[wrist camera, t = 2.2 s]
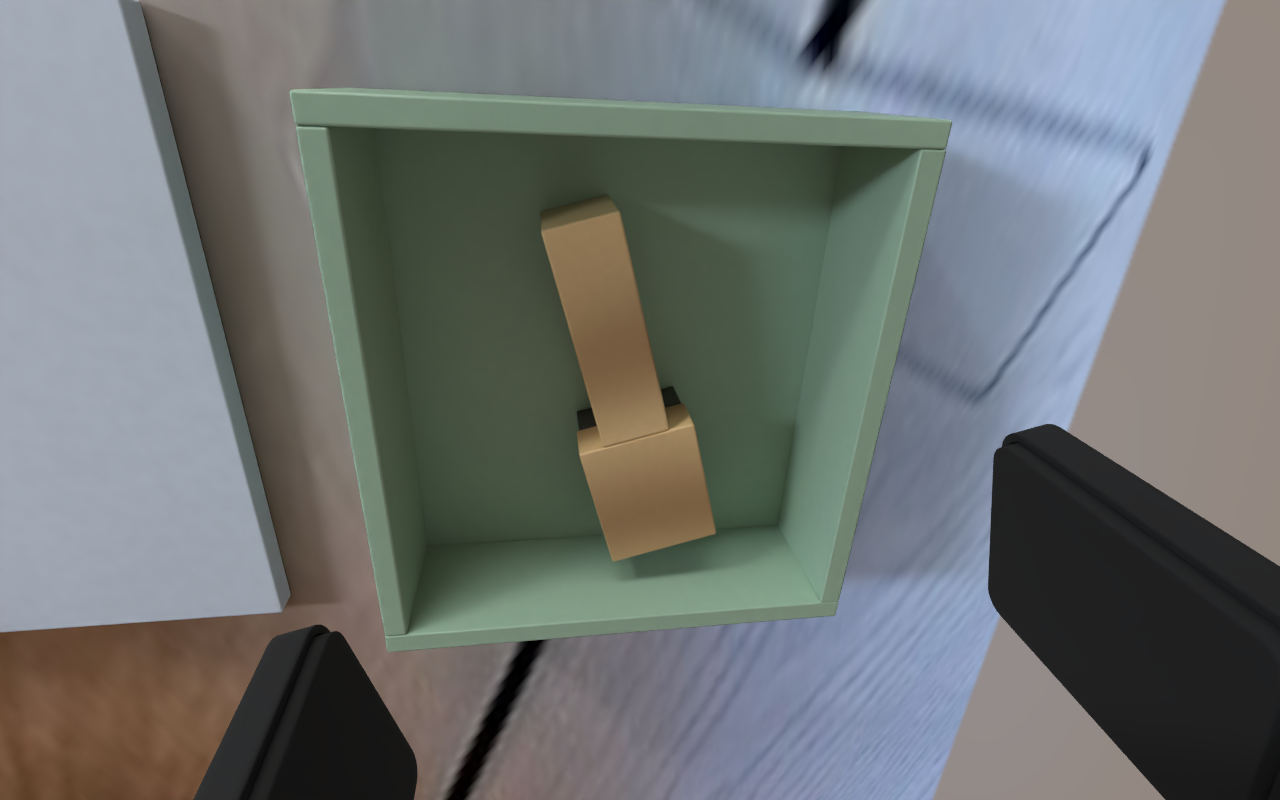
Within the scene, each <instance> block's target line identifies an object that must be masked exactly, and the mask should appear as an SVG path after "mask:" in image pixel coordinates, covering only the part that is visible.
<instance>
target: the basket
mask: <svg viewBox="0 0 1280 800" xmlns="http://www.w3.org/2000/svg"><path fill="white" fill-rule="evenodd" d="M289 94H290V100H291V105H292V111H293V117H294V121H295V123H296V124H297V125H299V126H297V127H296V133H297V139H298V144H299V150H300V156H301V162H302V167H303V173H304V179H305V184H306V190H307V196H308V201H309V207H310V213H311V218H312V224H313V230H314V235H315V241H316V247H317V252H318V258H319V264H320V269H321V275H322V281H323V286H324V292H325V298H326V303H327V309H328V315H329V320H330V326H331V332H332V337H333V343H334V349H335V355H336V360H337V366H338V372H339V377H340V383H341V389H342V394H343V400H344V406H345V411H346V417H347V423H348V428H349V434H350V440H351V445H352V451H353V457H354V462H355V468H356V474H357V479H358V485H359V491H360V496H361V502H362V508H363V513H364V519H365V525H366V530H367V536H368V542H369V548H370V553H371V559H372V565H373V570H374V576H375V582H376V587H377V593H378V599H379V604H380V610H381V616H382V621H383V627H384V633H385V640H386V646H387V651H388V652H397V651H409V650H421V649H434V648H446V647H458V646H470V645H482V644H494V643H507V642H519V641H531V640H543V639H555V638H568V637H580V636H592V635H604V634H616V633H629V632H641V631H653V630H665V629H677V628H690V627H702V626H714V625H726V624H738V623H751V622H763V621H775V620H787V619H799V618H812V617H824V616H834V615H835V614H836V610H837V605H838V600H839V597H840V593H841V589H842V584H843V580H844V576H845V572H846V568H847V564H848V559H849V555H850V551H851V547H852V543H853V538H854V534H855V530H856V526H857V522H858V517H859V513H860V509H861V505H862V501H863V496H864V492H865V488H866V484H867V480H868V475H869V471H870V467H871V463H872V459H873V455H874V450H875V446H876V442H877V438H878V434H879V429H880V425H881V421H882V417H883V413H884V408H885V404H886V400H887V396H888V392H889V387H890V383H891V379H892V375H893V371H894V367H895V362H896V358H897V354H898V350H899V346H900V341H901V337H902V333H903V329H904V325H905V320H906V316H907V312H908V308H909V304H910V299H911V295H912V291H913V287H914V283H915V278H916V274H917V270H918V266H919V262H920V258H921V253H922V249H923V245H924V241H925V237H926V232H927V228H928V224H929V220H930V216H931V211H932V207H933V203H934V199H935V195H936V190H937V186H938V182H939V178H940V174H941V169H942V165H943V161H944V157H945V153H946V151H945V150H943V149H945V148H946V147H947V142H948V138H949V134H950V130H951V126H952V121H951V120H947V119H936V118H925V117H914V116H903V115H892V114H881V113H870V112H858V111H836V110H815V109H794V108H772V107H751V106H730V105H708V104H687V103H666V102H645V101H623V100H602V99H581V98H559V97H538V96H517V95H496V94H474V93H453V92H432V91H410V90H389V89H368V88H326V89H293V90H290V93H289ZM602 195H609V197H610V198H611V199H612V201H613V202H614V204H615V205H616V207H617V208H618V210H619V211H620V213H621V216H622V221H623V225H624V229H625V234H626V238H627V243H628V247H629V251H630V256H631V260H632V265H633V269H634V273H635V278H636V282H637V287H638V291H639V295H640V300H641V304H642V309H643V313H644V318H645V322H646V326H647V331H648V335H649V340H650V344H651V348H652V353H653V357H654V362H655V366H656V370H657V375H658V379H659V384H660V388H661V389H663V388H667V387H671V386H673V387H674V389H675V391H676V393H677V395H678V397H679V400H680V402H681V403H684V404H685V406H686V408H687V410H688V412H689V414H690V416H691V419H692V421H693V423H694V425H695V430H696V435H697V440H698V445H699V449H700V454H701V459H702V464H703V469H704V474H705V479H706V484H707V488H708V493H709V498H710V503H711V508H712V513H713V518H714V523H715V527H716V534H713V535H710V536H706V537H702V538H699V539H695V540H691V541H688V542H684V543H680V544H677V545H673V546H669V547H666V548H662V549H659V550H655V551H651V552H648V553H644V554H640V555H637V556H633V557H629V558H626V559H622V560H618V561H615V562H613V561H612V559H611V556H610V553H609V549H608V546H607V543H606V540H605V537H604V533H603V530H602V527H601V524H600V521H599V517H598V514H597V511H596V508H595V504H594V501H593V498H592V495H591V492H590V488H589V485H588V482H587V479H586V476H585V472H584V469H583V466H582V463H581V460H580V456H579V449H578V441H577V431H579V427H578V420H577V411H580V410H584V409H588V408H592V407H591V404H590V400H589V397H588V393H587V390H586V386H585V383H584V379H583V376H582V372H581V369H580V366H579V362H578V359H577V355H576V352H575V348H574V345H573V341H572V338H571V334H570V331H569V328H568V324H567V321H566V317H565V314H564V310H563V307H562V303H561V300H560V296H559V293H558V289H557V286H556V283H555V279H554V276H553V272H552V269H551V265H550V262H549V258H548V255H547V251H546V248H545V244H544V241H543V238H542V234H541V219H540V212H541V211H543V210H547V209H551V208H555V207H559V206H563V205H567V204H571V203H575V202H579V201H583V200H586V199H590V198H594V197H598V196H602Z"/></svg>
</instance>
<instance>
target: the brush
mask: <svg viewBox="0 0 1280 800" xmlns="http://www.w3.org/2000/svg"><path fill="white" fill-rule="evenodd" d="M540 219H541V234H542V238H543V241H544V244H545V248H546V251H547V255H548V258H549V262H550V265H551V269H552V272H553V276H554V279H555V283H556V286H557V289H558V293H559V296H560V300H561V303H562V307H563V310H564V314H565V317H566V321H567V324H568V328H569V331H570V334H571V338H572V341H573V345H574V348H575V352H576V355H577V359H578V362H579V366H580V369H581V372H582V376H583V379H584V383H585V386H586V390H587V393H588V397H589V400H590V404H591V407H592V408H588V409H584V410H580V411H577V420H578V427H579V431H577V441H578V449H579V456H580V460H581V463H582V466H583V469H584V472H585V476H586V479H587V482H588V485H589V488H590V492H591V495H592V498H593V501H594V504H595V508H596V511H597V514H598V517H599V521H600V524H601V527H602V530H603V533H604V537H605V540H606V543H607V546H608V549H609V553H610V556H611V559H612V561H613V562H615V561H618V560H622V559H626V558H629V557H633V556H637V555H640V554H644V553H648V552H651V551H655V550H659V549H662V548H666V547H669V546H673V545H677V544H680V543H684V542H688V541H691V540H695V539H699V538H702V537H706V536H710V535H713V534H716V527H715V523H714V518H713V513H712V508H711V503H710V498H709V493H708V488H707V484H706V479H705V474H704V469H703V464H702V459H701V454H700V449H699V445H698V440H697V435H696V430H695V425H694V423H693V421H692V419H691V416H690V414H689V412H688V410H687V408H686V406H685V404H684V403H681V402H680V400H679V397H678V395H677V393H676V391H675V389H674V387H673V386H671V387H667V388H663V389H661V388H660V384H659V379H658V375H657V370H656V366H655V362H654V357H653V353H652V348H651V344H650V340H649V335H648V331H647V326H646V322H645V318H644V313H643V309H642V304H641V300H640V295H639V291H638V287H637V282H636V278H635V273H634V269H633V265H632V260H631V256H630V251H629V247H628V243H627V238H626V234H625V229H624V225H623V221H622V216H621V213H620V211H619V210H618V208H617V207H616V205H615V204H614V202H613V201H612V199H611V198H610V197H609V195H602V196H598V197H594V198H590V199H586V200H583V201H579V202H575V203H571V204H567V205H563V206H559V207H555V208H551V209H547V210H543V211H541V212H540Z"/></svg>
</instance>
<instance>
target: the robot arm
mask: <svg viewBox="0 0 1280 800" xmlns="http://www.w3.org/2000/svg"><path fill="white" fill-rule="evenodd" d="M988 591H989V595H990V598H991V601H992V603H993V605H994V607H995V609H996V610H997V612H998V613H999V614H1000V615H1001V617H1002V618H1003V619H1004V620H1005V621H1006V622H1007V623H1008V624H1009V625H1010V627H1011V628H1012V629H1013V630H1014V631H1015V632H1016V633H1017V634H1018V636H1019V637H1020V638H1021V639H1022V640H1023V641H1024V642H1025V643H1026V644H1027V645H1028V647H1029V648H1030V649H1031V650H1032V651H1033V652H1034V653H1035V655H1036V656H1037V657H1038V658H1039V659H1040V660H1041V661H1042V662H1043V663H1044V665H1045V666H1046V667H1047V668H1048V669H1049V670H1050V671H1051V672H1052V674H1054V676H1055V677H1056V678H1057V679H1058V680H1059V681H1060V682H1061V683H1062V684H1063V686H1064V687H1065V688H1066V689H1067V690H1068V691H1069V692H1070V694H1072V696H1073V697H1074V698H1075V699H1076V700H1077V701H1078V703H1079V704H1080V705H1081V706H1082V707H1083V708H1084V709H1085V710H1086V711H1087V713H1088V714H1089V715H1090V716H1091V717H1092V718H1093V719H1094V720H1095V722H1096V723H1097V724H1098V725H1099V726H1100V727H1101V728H1102V729H1103V730H1104V732H1105V733H1106V734H1107V735H1108V736H1109V737H1110V738H1111V739H1112V741H1113V742H1114V743H1115V744H1116V745H1117V746H1118V747H1119V748H1120V749H1121V751H1122V752H1123V753H1124V754H1125V755H1126V756H1127V757H1128V758H1129V760H1130V761H1131V762H1132V763H1133V764H1134V765H1135V766H1136V767H1137V768H1138V770H1139V771H1140V772H1141V773H1142V774H1143V775H1144V776H1145V777H1146V779H1147V780H1148V781H1149V782H1150V783H1151V784H1152V785H1153V786H1154V787H1155V789H1156V790H1157V791H1158V792H1159V793H1160V794H1161V795H1162V796H1163V797H1164V799H1165V800H1280V566H1278V565H1276V564H1275V563H1273V562H1272V561H1270V560H1268V559H1267V558H1265V557H1264V556H1262V555H1261V554H1259V553H1257V552H1256V551H1254V550H1253V549H1251V548H1250V547H1248V546H1246V545H1245V544H1243V543H1241V542H1240V541H1239V540H1237V539H1235V538H1233V537H1232V536H1231V535H1229V534H1228V533H1226V532H1224V531H1223V530H1221V529H1220V528H1218V527H1216V526H1215V525H1213V524H1212V523H1210V522H1209V521H1207V520H1205V519H1204V518H1202V517H1201V516H1199V515H1197V514H1196V513H1194V512H1193V511H1191V510H1190V509H1188V508H1186V507H1185V506H1183V505H1182V504H1180V503H1179V502H1177V501H1175V500H1174V499H1172V498H1170V497H1169V496H1167V495H1166V494H1164V493H1163V492H1161V491H1160V490H1158V489H1156V488H1155V487H1153V486H1152V485H1150V484H1149V483H1147V482H1145V481H1144V480H1142V479H1141V478H1139V477H1138V476H1136V475H1134V474H1133V473H1131V472H1130V471H1128V470H1126V469H1125V468H1123V467H1122V466H1120V465H1119V464H1117V463H1115V462H1114V461H1112V460H1111V459H1109V458H1108V457H1106V456H1104V455H1103V454H1101V453H1100V452H1098V451H1096V450H1095V449H1093V448H1092V447H1090V446H1088V445H1087V444H1085V443H1084V442H1082V441H1081V440H1079V439H1078V438H1076V437H1074V436H1072V435H1071V434H1070V433H1068V432H1066V431H1065V430H1063V429H1062V428H1060V427H1058V426H1056V425H1053V424H1045V425H1042V426H1038V427H1034V428H1031V429H1027V430H1023V431H1020V432H1016V433H1012V434H1010V435H1008V436H1006V437H1005V439H1004V441H1003V444H1002V447H1001V448H999V449H997V450H996V452H995V454H994V461H993V485H992V508H991V532H990V555H989V579H988ZM416 783H417V763H416V759H415V755H414V753H413V750H412V749H411V747H410V745H409V744H408V742H407V740H406V739H405V737H404V735H403V734H402V732H401V731H400V729H399V727H398V726H397V724H396V722H395V721H394V719H393V717H392V716H391V714H390V712H389V711H388V709H387V707H386V706H385V704H384V702H383V701H382V699H381V697H380V696H379V694H378V692H377V691H376V689H375V687H374V686H373V684H372V682H371V681H370V679H369V677H368V676H367V674H366V672H365V671H364V669H363V668H362V666H361V664H360V663H359V661H358V659H357V658H356V656H355V654H354V653H353V651H352V649H351V648H350V646H349V644H348V643H347V641H346V639H345V638H344V636H343V635H342V634H341V633H340V632H338V631H334V632H330V631H329V630H328V629H327V628H326V627H325V626H323V625H314V626H311V627H307V628H304V629H300V630H296V631H293V632H289V633H285V634H282V635H278V636H276V637H275V638H273V639H272V640H271V641H270V643H269V644H268V646H267V648H266V650H265V652H264V654H263V656H262V658H261V660H260V662H259V665H258V667H257V669H256V671H255V673H254V675H253V677H252V679H251V681H250V683H249V685H248V687H247V689H246V692H245V694H244V696H243V698H242V700H241V702H240V704H239V706H238V708H237V710H236V712H235V714H234V716H233V719H232V721H231V723H230V725H229V727H228V729H227V731H226V733H225V735H224V737H223V739H222V741H221V743H220V745H219V748H218V750H217V752H216V754H215V756H214V758H213V760H212V762H211V764H210V766H209V768H208V770H207V772H206V775H205V777H204V779H203V781H202V783H201V785H200V787H199V789H198V791H197V793H196V795H195V797H194V799H193V800H414V795H415V789H416Z"/></svg>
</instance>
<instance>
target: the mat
mask: <svg viewBox="0 0 1280 800" xmlns="http://www.w3.org/2000/svg"><path fill="white" fill-rule="evenodd" d="M290 595H291V594H290V590H289V586H288V582H287V578H286V574H285V570H284V566H283V562H282V558H281V554H280V550H279V546H278V543H277V539H276V535H275V531H274V527H273V523H272V519H271V515H270V511H269V507H268V503H267V499H266V495H265V491H264V487H263V484H262V480H261V476H260V472H259V468H258V464H257V460H256V456H255V452H254V448H253V444H252V440H251V436H250V432H249V428H248V425H247V421H246V417H245V413H244V409H243V405H242V401H241V397H240V393H239V389H238V385H237V381H236V377H235V373H234V369H233V366H232V362H231V358H230V354H229V350H228V346H227V342H226V338H225V334H224V330H223V326H222V322H221V318H220V314H219V310H218V307H217V303H216V299H215V295H214V291H213V287H212V283H211V279H210V275H209V271H208V267H207V263H206V259H205V255H204V251H203V248H202V244H201V240H200V236H199V232H198V228H197V224H196V220H195V216H194V212H193V208H192V204H191V200H190V196H189V193H188V189H187V185H186V181H185V177H184V173H183V169H182V165H181V161H180V157H179V153H178V149H177V145H176V141H175V137H174V134H173V130H172V126H171V122H170V118H169V114H168V110H167V106H166V102H165V98H164V94H163V90H162V86H161V82H160V78H159V75H158V71H157V67H156V63H155V59H154V55H153V51H152V47H151V43H150V39H149V35H148V31H147V27H146V23H145V19H144V16H143V12H142V8H141V4H140V2H139V1H138V0H0V632H13V631H27V630H41V629H55V628H69V627H83V626H97V625H111V624H125V623H139V622H154V621H168V620H182V619H196V618H210V617H224V616H238V615H252V614H266V613H280V612H283V610H284V608H285V605H286V603H287V601H288V599H289V597H290Z"/></svg>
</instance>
